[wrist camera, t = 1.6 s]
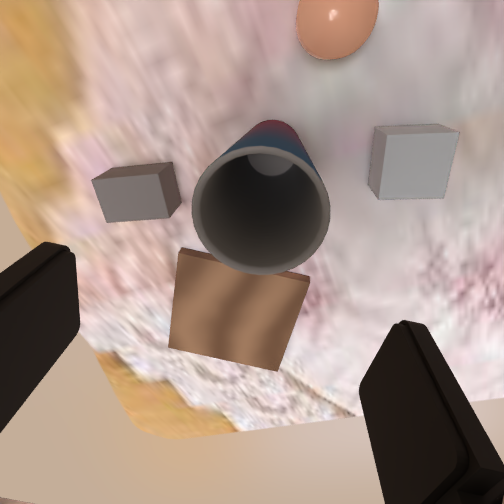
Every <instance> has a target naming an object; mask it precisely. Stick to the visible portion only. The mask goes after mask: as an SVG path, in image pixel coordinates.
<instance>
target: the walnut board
mask: <svg viewBox="0 0 504 504" xmlns="http://www.w3.org/2000/svg"><path fill="white" fill-rule="evenodd" d="M309 284H310V278H309V276H305V275H300V274H296V273H292V272H287V271H285V272H282V273H277V274H272V275H256V274H248V273H244V272H241V271H238V270H235V269H233V268H231V267H229V266H227V265H225V264H223V263H222V262H220V261H219V260H218V259H216V258H215V257H214V256H213V255H212V254H208V253H204V252H199V251H195V250H191V249H186V248H181V249H180V251H179V253H178V262H177V271H176V280H175V289H174V298H173V308H172V317H171V326H170V335H169V345H168V348H173V349H177V350H182V351H186V352H191V353H195V354H200V355H204V356H209V357H213V358H218V359H222V360H227V361H231V362H236V363H241V364H245V365H250V366H254V367H259V368H263V369H268V370H272V371H277V372H278V369H279V366H280V363H281V361H282V358H283V355H284V352H285V350H286V347H287V344H288V342H289V339H290V336H291V333H292V331H293V328H294V325H295V322H296V320H297V317H298V314H299V312H300V309H301V306H302V303H303V301H304V298H305V295H306V292H307V290H308V287H309Z"/></svg>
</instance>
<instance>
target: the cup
mask: <svg viewBox="0 0 504 504" xmlns="http://www.w3.org/2000/svg"><path fill="white" fill-rule="evenodd" d="M192 218H193V223H194V227H195V230H196V232H197V234H198V237H199V239H200V240H201V242H202V243H203V245H204V246H205V248H206V249H207V250H208V251H209V252H210V253H211V254H212V255H213V256H214V257H215V258H216V259H218V260H219V261H220V262H222V263H223V264H225V265H227V266H229V267H231V268H233V269H235V270H238V271H241V272H244V273H248V274H256V275H272V274H277V273H282V272H285V271H288V270H290V269H293V268H295V267H297V266H298V265H300V264H302V263H303V262H305V261H306V260H307V259H308V258H309V257H311V256H312V255H313V254H314V253H315V252H316V250H317V249H318V248H319V246H320V245H321V244H322V242H323V240H324V237H325V235H326V233H327V230H328V226H329V222H330V202H329V197H328V193H327V191H326V188H325V186H324V184H323V181H322V180H321V178H320V176H319V174H318V172H317V170H316V169H315V167H314V165H313V163H312V161H311V159H310V158H309V156H308V154H307V152H306V150H305V148H304V147H303V145H302V143H301V141H300V139H299V137H298V136H297V134H296V132H295V131H294V130H293V129H292V128H291V127H290V126H289V125H288V124H286V123H284V122H281V121H278V120H267V121H264V122H261V123H259V124H257V125H256V126H255V127H253V128H252V129H251V130H250V131H249V132H248V133H247V134H245V135H244V136H243V137H242V138H241V139H240V140H238V141H237V142H236V143H235V144H234V145H233V146H231V147H230V148H229V149H228V150H227V151H226V152H225V153H223V154H222V155H221V156H220V157H219V158H218V159H216V160H215V161H214V162H213V163H212V164H211V165H210V166H208V168H207V169H206V170H205V172H204V173H203V174H202V176H201V177H200V179H199V181H198V183H197V185H196V187H195V190H194V194H193V199H192Z"/></svg>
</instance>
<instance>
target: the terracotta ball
mask: <svg viewBox="0 0 504 504" xmlns="http://www.w3.org/2000/svg"><path fill="white" fill-rule="evenodd" d="M378 4H379V3H378V0H300V1H299V6H298V11H297V17H296V31H297V35H298V39H299V41H300V43H301V45H302V47H303V48H304V49H305V51H306V52H307V53H308V54H310V55H311V56H313V57H315V58H318V59H321V60H331V59H338V58H342V57H345V56H348V55H350V54H352V53H353V52H355V51H356V50H357V49H359V48H360V47H361V46H362V45H363V44H364V42H365V41H366V40H367V38H368V37H369V35H370V34H371V32H372V30H373V28H374V25H375V22H376V19H377V14H378Z"/></svg>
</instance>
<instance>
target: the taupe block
mask: <svg viewBox="0 0 504 504" xmlns="http://www.w3.org/2000/svg"><path fill="white" fill-rule="evenodd" d="M91 181H92V184H93V187H94V189H95V192H96V195H97V198H98V200H99V203H100V206H101V209H102V211H103V214H104V217H105V220H106V222H107V223H111V222H125V221H138V220H152V219H165V218H170V217H171V215H172V214H173V213H174V212H175V210H176V209H177V208H178V206H179V205H180V204H181V203H182V202H181V198H180V193H179V189H178V185H177V181H176V176H175V172H174V168H173V163H172V162H167V163H157V164H147V165H137V166H127V167H117V168H111V169H110V170H108V171H106V172H104V173H103V174H101V175H99V176H97V177H96V178H94V179H92V180H91Z"/></svg>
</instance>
